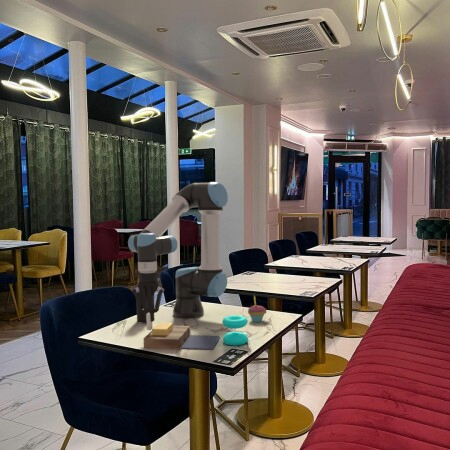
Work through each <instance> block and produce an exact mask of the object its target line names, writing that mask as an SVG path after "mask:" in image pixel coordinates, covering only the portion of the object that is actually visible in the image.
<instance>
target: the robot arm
mask: <svg viewBox="0 0 450 450" xmlns="http://www.w3.org/2000/svg"><path fill="white" fill-rule="evenodd" d="M228 201H229V196H228V192H227V189H226V187H225V186H224V184H223V183H222V182H218V181H209V182H193V183H190V184H187V185H186V186H184V187H183V188H182V189H180V190H179V191H177V193H176V194H175V195H173V197H172V198H171V201H170V202H169V203H168V205H167V206H166V207H165V208H163V209H162V210H161V212H160V213H159V214H158V215H156V217H155V218H154V219H153V220H152V221H150V222H149V223H148V225H147V226H146V227H145V228H144V229H143V230H142V231H141V232H140V233H139V234H133V235H130V237H129V238H128V241H127V244H128V246H127V247H128V249H129V250H130V251H131V252H134V253H137V270H138V273H137V274H138V275H137V276H138V278H137V279H139V284H138V283H137V286H136V287H135V288H133V289H132V293H133V294H134V297H135V300H136V301H137V304H138V308H139V312H142V313H144V321H145V322H147V323H146V331H152V329H153V322H155V313H158V312H159V310H160V306H161V300H162V296H163V293H164V291H165V288H163V287H160V286H159V283H158V272H157V271H158V262H157V261H158V260H157V259H158V256H161V255H169V254H171V253H175V252H176V251H177V249H178V240H177V239H176V237H175V236H173V235H164V233H165V232H167V230H168V229H170V227H171V226H172V225H173V224H174V223H175V222H176V221H177V220H178V219H179V218H180V217H181V215H183V213H187V212H188V211H189V210H190V209H192V208H197V209H198V213H200V214H201V216H200V223H201V228H200V229H201V232H200V237H201V238H200V239H201V240H200V244H201V245H200V246H201V247H200V250H201V251H200V256H201V257H200V259H201V260H200V266H192V267H191V266H190V267H183V268H179V269H177V270H176V271H175V278H174V279H175V298H176V299H175V302H174V306H173V310H172V315H173V316H174V317H175V318H179V319H180V318H183V319H187V318H188V319H191V318H192V319H193V318H198V317H202V316H203V315H204V313H205V311H204V307H203V304H202V301H201V296H205V297H209V298H212V297H214V298H219V297H221V296H222V295H223V294H224V292H225V291H226V289H227V287H228V276H227V275H226V273H225V272H223V267H222V266H221V265H220V214H221V213H222V212H223V209H224V208H223V207H225V206H227V203H228ZM139 289H140V290H139ZM139 291H141V292H142V294H143V303H142V299H141V296H140V292H139ZM156 291H157V293H156ZM155 293H156V294H157V295H156V300H155ZM148 295H149V304H150V313H148V312H149V311H148Z"/></svg>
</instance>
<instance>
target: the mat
mask: <svg viewBox="0 0 450 450" xmlns="http://www.w3.org/2000/svg"><path fill="white" fill-rule="evenodd" d="M220 338H221V335H206V334H205V335H204V334H202V335H201V334H200V335H199V334H190V336H189V338H188V339H187V340H186V341H185V343H184V344H183V345H182V347H181V348H180V349H181V350H205V351H207V350H208V351H213V350H214V349H215V347H216V345H217V343H218V342H219V340H220Z"/></svg>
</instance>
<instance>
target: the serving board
mask: <svg viewBox="0 0 450 450" xmlns="http://www.w3.org/2000/svg"><path fill="white" fill-rule="evenodd" d="M190 335H191V326H190V325H173V329H172V330H171V332H170V333H169V334H168V335H152V330H150V332H149V333H147V334H146V335H145V336H144V337H143V349H144V348H153V349H152V350H173V351H174V350H175V351H176V350H179V351H180V349H181V347H182V346H183V344H184V343H185V342H186V340H187V339H188V338H189V337H190Z"/></svg>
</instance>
